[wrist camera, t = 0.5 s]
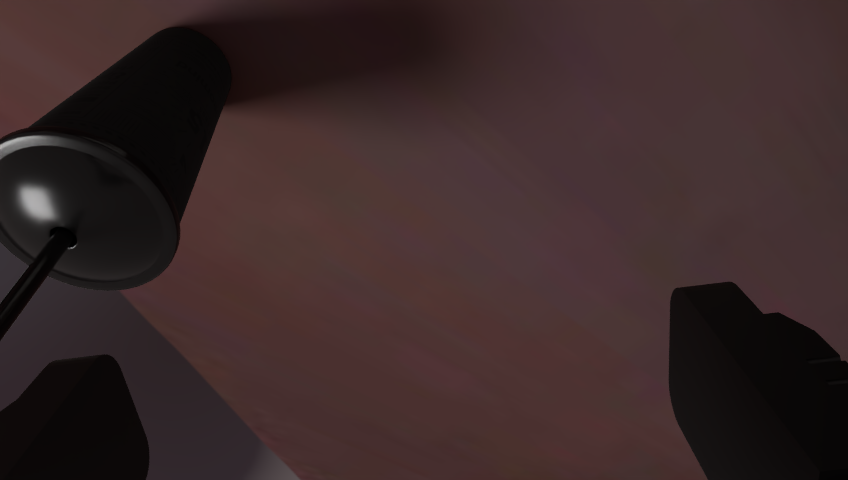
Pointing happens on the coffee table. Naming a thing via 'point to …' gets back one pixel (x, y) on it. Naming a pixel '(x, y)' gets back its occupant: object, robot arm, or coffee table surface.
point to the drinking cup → (111, 170)
